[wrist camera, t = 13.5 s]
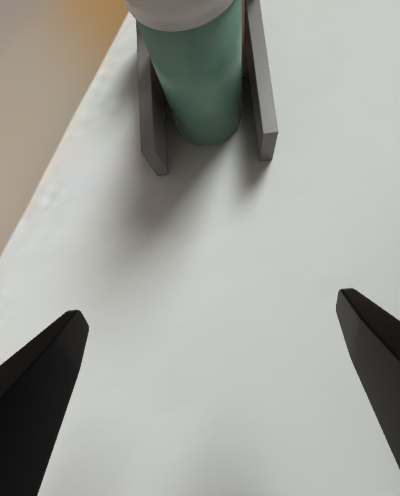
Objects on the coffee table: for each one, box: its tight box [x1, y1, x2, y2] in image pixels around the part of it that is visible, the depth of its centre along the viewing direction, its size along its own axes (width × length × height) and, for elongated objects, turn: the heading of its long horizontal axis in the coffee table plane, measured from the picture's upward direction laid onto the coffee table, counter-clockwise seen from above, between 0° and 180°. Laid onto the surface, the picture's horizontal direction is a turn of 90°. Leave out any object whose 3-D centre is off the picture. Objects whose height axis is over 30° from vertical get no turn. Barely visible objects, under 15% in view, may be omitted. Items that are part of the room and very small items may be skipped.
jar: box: [124, 0, 242, 146], centre depth 19 cm, size 6×6×12 cm
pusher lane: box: [136, 0, 278, 175], centre depth 22 cm, size 15×10×7 cm, turn 4°
